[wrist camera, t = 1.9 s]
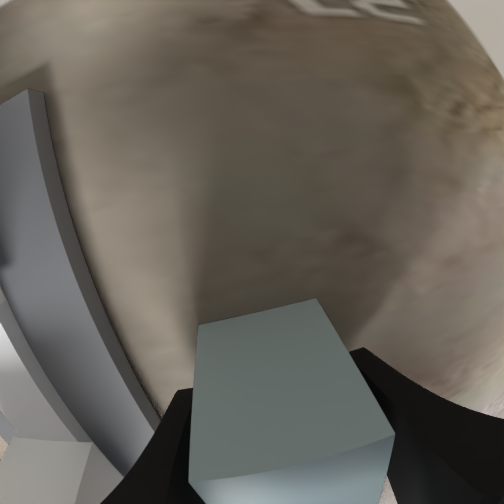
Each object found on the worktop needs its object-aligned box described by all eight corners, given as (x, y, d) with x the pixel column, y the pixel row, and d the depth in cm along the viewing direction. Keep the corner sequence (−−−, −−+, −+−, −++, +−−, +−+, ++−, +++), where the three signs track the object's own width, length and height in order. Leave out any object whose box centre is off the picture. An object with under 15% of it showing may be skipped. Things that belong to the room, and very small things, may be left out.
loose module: (326, 390, 12) (376, 511, 6) (230, 412, 12) (242, 543, 6) (315, 297, 11) (395, 433, 5) (198, 324, 10) (188, 482, 5)
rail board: (218, 504, 15) (224, 590, 9) (83, 502, 14) (69, 571, 9) (43, 92, 7) (-111, 69, 1) (-99, 193, 7) (-188, 231, 1)
